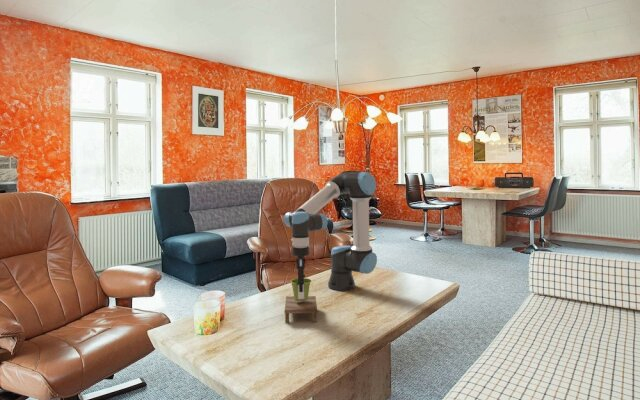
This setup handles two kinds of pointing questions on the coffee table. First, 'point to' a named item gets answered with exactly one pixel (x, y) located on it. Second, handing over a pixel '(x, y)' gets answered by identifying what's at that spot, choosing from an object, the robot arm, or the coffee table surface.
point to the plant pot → (295, 289)
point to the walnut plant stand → (300, 307)
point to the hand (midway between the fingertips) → (300, 294)
